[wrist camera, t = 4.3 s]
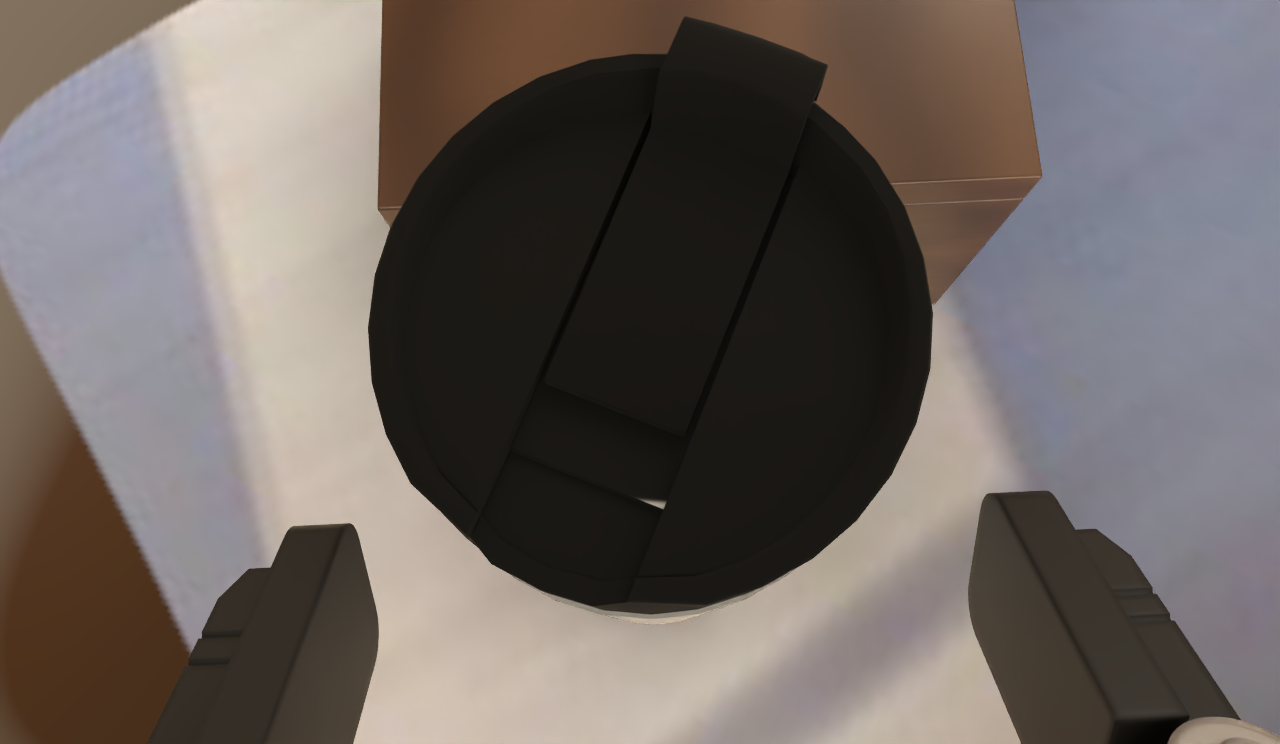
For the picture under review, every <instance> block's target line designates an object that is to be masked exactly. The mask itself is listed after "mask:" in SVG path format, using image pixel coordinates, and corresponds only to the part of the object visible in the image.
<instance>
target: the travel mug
mask: <svg viewBox="0 0 1280 744" xmlns="http://www.w3.org/2000/svg"><path fill="white" fill-rule="evenodd" d="M827 67H828V65H827V64H825V63H822V62H820V61H817V60H815V59H812V58H810V57H808V56H806V55H804V54H803V53H800V52H797V51H795V50H792V49H789V48H787V47H784V46H781V45H779V44H776V43H773V42H771V41H768V40H765V39H763V38H760V37H757V36H754V35H750V34H747V33H744V32H741V31H738V30H734V29H731V28H728V27H725V26H721V25H718V24H715V23H711V22H707V21H703V20H699V19H695V18H691V17H687V16H685V17H684V18H683V20H682V22H681V24H680V26H679V29H678V31H677V33H676V35H675V38H674V40H673V42H672V44H671V47H670V49H669V51H668V53H667V54H627V55H620V56H613V57H606V58H599V59H591V60H588V61H585V62H582V63H579V64H576V65H573V66H570V67H567V68H564V69H561V70H558V71H555V72H552V73H549V74H546V75H543V76H540V77H538V78H536V79H534V80H532V81H531V82H529V83H527V84H525V85H523V86H522V87H520V88H518V89H516V90H514V91H513V92H511V93H509V94H507V95H505V96H504V97H502V98H500V99H498V100H496V101H495V102H493V103H492V104H491V105H489V106H488V107H487V108H486V109H484V110H483V111H482V112H481V113H480V114H478V115H477V116H476V117H475V118H474V119H472V120H471V121H470V122H469V123H468V124H466V125H465V126H464V127H463V128H462V129H460V130H459V131H458V132H457V133H455V134H454V135H453V136H452V137H451V138H450V139H449V140H448V142H447V143H446V144H445V145H444V146H443V148H442V149H441V150H440V151H439V152H438V154H437V155H436V156H435V157H434V158H433V160H432V161H431V162H430V163H429V164H428V166H427V167H426V168H425V169H424V170H423V172H422V173H421V174H420V175H419V176H418V178H417V179H416V181H415V183H414V185H413V187H412V188H411V190H410V192H409V194H408V196H407V197H406V199H405V201H404V203H403V205H402V206H401V208H400V210H399V212H398V214H397V215H396V217H395V219H394V221H393V223H392V225H391V228H390V231H389V234H388V237H387V240H386V243H385V246H384V249H383V252H382V255H381V258H380V261H379V264H378V267H377V270H376V273H375V278H374V286H373V294H372V302H371V309H370V317H369V325H368V334H369V349H370V363H371V378H372V385H373V388H374V392H375V396H376V399H377V403H378V407H379V410H380V414H381V418H382V421H383V425H384V429H385V432H386V435H387V437H388V439H389V441H390V443H391V445H392V447H393V449H394V451H395V453H396V455H397V457H398V459H399V461H400V463H401V465H402V467H403V469H404V471H405V473H406V475H407V477H408V479H409V481H410V483H411V484H412V485H413V486H414V487H415V488H416V489H417V490H418V491H419V492H420V493H421V494H422V495H424V496H425V497H426V498H427V499H428V500H429V501H430V502H431V503H432V504H433V505H434V506H435V507H436V508H437V509H438V510H440V511H441V512H442V513H443V514H444V516H445V517H446V518H447V519H448V520H449V521H450V522H451V523H452V524H453V525H454V526H455V527H456V528H457V529H458V530H459V531H460V532H461V533H462V534H463V535H464V536H465V537H466V538H467V539H468V540H470V541H471V542H472V543H473V544H474V545H476V546H477V547H478V548H479V549H480V550H481V552H482V553H483V554H484V555H485V557H486V558H487V559H488V561H489V562H490V563H491V564H493V565H494V566H496V567H498V568H500V569H502V570H504V571H505V572H507V573H509V574H511V575H512V576H513V577H514V578H516V579H518V580H519V581H521V582H523V583H525V584H527V585H529V586H530V587H532V588H534V589H536V590H538V591H540V592H542V593H543V594H545V595H547V596H549V597H551V598H553V599H554V600H556V601H559V602H562V603H566V604H569V605H572V606H575V607H579V608H582V609H585V610H589V611H592V612H595V613H599V614H602V615H606V616H610V617H614V618H617V619H621V620H625V621H629V622H633V623H642V624H653V625H659V624H668V623H677V622H680V621H683V620H686V619H689V618H692V617H696V616H699V615H701V614H704V613H707V612H710V611H713V610H716V609H718V608H721V607H724V606H727V605H730V604H733V603H736V602H738V601H741V600H744V599H746V598H748V597H750V596H752V595H753V594H755V593H757V592H759V591H760V590H762V589H764V588H766V587H767V586H769V585H771V584H773V583H774V582H776V581H778V580H780V579H781V578H783V577H785V576H787V575H788V574H789V573H790V572H791V571H792V570H794V569H795V568H797V567H799V566H801V565H802V564H804V563H806V562H808V561H809V560H811V559H813V558H814V557H815V556H816V555H817V554H819V553H820V552H821V551H822V550H823V549H824V548H826V547H827V546H828V545H829V544H830V543H831V542H832V541H834V540H835V539H836V538H837V537H838V536H839V535H840V534H842V533H843V532H844V531H845V530H846V529H847V528H849V527H850V526H851V525H852V524H853V523H854V522H855V521H857V519H858V518H859V517H860V515H861V514H862V513H863V511H864V510H865V509H866V507H867V506H868V505H869V504H870V502H871V501H872V500H873V498H874V497H875V496H876V494H877V493H878V492H879V490H880V489H881V488H882V487H883V485H884V484H885V483H886V481H887V480H888V479H889V477H890V476H891V475H892V473H893V471H894V469H895V466H896V464H897V462H898V460H899V458H900V456H901V454H902V452H903V450H904V448H905V446H906V444H907V442H908V440H909V438H910V436H911V433H912V431H913V429H914V427H915V425H916V423H917V419H918V415H919V411H920V407H921V403H922V399H923V395H924V391H925V387H926V383H927V379H928V376H929V372H930V363H931V342H932V320H933V311H932V304H931V298H930V292H929V285H928V279H927V272H926V266H925V260H924V256H923V254H922V251H921V248H920V245H919V243H918V240H917V237H916V235H915V232H914V229H913V227H912V224H911V221H910V219H909V216H908V213H907V211H906V208H905V206H904V204H903V203H902V201H901V199H900V198H899V196H898V195H897V193H896V191H895V190H894V188H893V187H892V185H891V183H890V182H889V180H888V179H887V177H886V175H885V174H884V172H883V171H882V169H881V167H880V166H879V164H878V163H877V161H876V160H875V159H874V158H873V157H872V155H871V154H870V153H869V152H868V151H867V150H866V149H865V148H864V147H863V146H862V145H861V144H860V143H859V142H858V141H857V139H856V138H855V137H854V136H853V135H852V134H851V133H850V132H849V131H848V130H847V129H846V128H845V127H844V126H843V125H842V124H840V123H839V122H838V121H837V120H835V119H834V118H833V117H832V116H831V115H829V114H828V113H827V112H826V111H825V110H823V109H822V108H821V107H820V106H819V105H818V104H816V103H815V102H814V101H817V98H818V96H819V93H820V91H821V88H822V84H823V81H824V77H825V74H826V71H827Z"/></svg>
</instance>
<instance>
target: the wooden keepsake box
mask: <svg viewBox="0 0 1280 744" xmlns="http://www.w3.org/2000/svg"><path fill="white" fill-rule="evenodd" d="M685 16H687V17H691V18H695V19H699V20H703V21H707V22H711V23H715V24H718V25H721V26H725V27H728V28H731V29H734V30H738V31H741V32H744V33H747V34H750V35H754V36H757V37H760V38H763V39H765V40H768V41H771V42H773V43H776V44H779V45H781V46H784V47H787V48H789V49H792V50H795V51H797V52H800V53H803V54H804V55H806V56H808V57H810V58H812V59H815V60H817V61H820V62H822V63H825V64H827V65H828V67H827V71H826V74H825V77H824V81H823V84H822V88H821V91H820V93H819V96H818V98H817V101H814V102H815V103H816V104H818V105H819V106H820V107H821V108H822V109H823V110H825V111H826V112H827V113H828V114H829V115H831V116H832V117H833V118H834V119H835V120H837V121H838V122H839V123H840V124H842V125H843V126H844V127H845V128H846V129H847V130H848V131H849V132H850V133H851V134H852V135H853V136H854V137H855V138H856V139H857V141H858V142H859V143H860V144H861V145H862V146H863V147H864V148H865V149H866V150H867V151H868V152H869V153H870V154H871V155H872V157H873V158H874V159H875V160H876V161H877V163H878V164H879V166H880V167H881V169H882V171H883V172H884V174H885V175H886V177H887V179H888V180H889V182H890V183H891V185H892V187H893V188H894V190H895V191H896V193H897V195H898V196H899V198H900V199H901V201H902V203H903V204H904V206H905V208H906V211H907V213H908V216H909V219H910V221H911V224H912V227H913V229H914V232H915V235H916V237H917V240H918V243H919V245H920V248H921V251H922V254H923V256H924V260H925V266H926V272H927V279H928V285H929V292H930V298H931V304H933V303H936V302H937V301H938V299H939V298H940V297H941V296H942V295H943V294H944V292H945V291H946V290H947V289H948V288H949V286H950V285H951V284H952V283H953V282H954V281H955V279H956V278H957V277H958V276H959V275H960V273H961V272H962V271H963V270H964V269H965V268H966V266H967V265H968V264H969V263H970V262H971V260H972V259H973V258H974V257H975V256H976V254H977V253H978V252H979V251H980V250H981V249H982V247H983V246H984V245H985V244H986V243H987V241H988V240H989V239H990V238H991V237H992V236H993V234H994V233H995V232H996V231H997V230H998V228H999V227H1000V226H1001V225H1002V224H1003V223H1004V221H1005V220H1006V219H1007V218H1008V217H1009V215H1010V214H1011V213H1012V212H1013V211H1014V209H1015V208H1016V207H1017V206H1018V205H1019V204H1020V202H1021V201H1022V200H1023V198H1024V197H1025V196H1026V195H1027V194H1028V193H1029V192H1030V190H1031V189H1032V188H1033V187H1034V186H1035V185H1036V183H1037V182H1038V181H1039V180H1040V179H1041V177H1042V171H1041V165H1040V158H1039V152H1038V146H1037V140H1036V133H1035V127H1034V121H1033V115H1032V108H1031V102H1030V96H1029V90H1028V83H1027V77H1026V71H1025V65H1024V58H1023V52H1022V46H1021V40H1020V33H1019V27H1018V21H1017V15H1016V8H1015V2H1014V0H382V38H381V82H380V125H379V169H378V210H379V212H380V213H381V215H382V216H383V218H384V219H385V221H386V222H387V224H388V225H389V227H390V228H391V225H392V223H393V221H394V219H395V217H396V215H397V214H398V212H399V210H400V208H401V206H402V205H403V203H404V201H405V199H406V197H407V196H408V194H409V192H410V190H411V188H412V187H413V185H414V183H415V181H416V179H417V178H418V176H419V175H420V174H421V173H422V172H423V170H424V169H425V168H426V167H427V166H428V164H429V163H430V162H431V161H432V160H433V158H434V157H435V156H436V155H437V154H438V152H439V151H440V150H441V149H442V148H443V146H444V145H445V144H446V143H447V142H448V140H449V139H450V138H451V137H452V136H453V135H454V134H455V133H457V132H458V131H459V130H460V129H462V128H463V127H464V126H465V125H466V124H468V123H469V122H470V121H471V120H472V119H474V118H475V117H476V116H477V115H478V114H480V113H481V112H482V111H483V110H484V109H486V108H487V107H488V106H489V105H491V104H492V103H493V102H495V101H496V100H498V99H500V98H502V97H504V96H505V95H507V94H509V93H511V92H513V91H514V90H516V89H518V88H520V87H522V86H523V85H525V84H527V83H529V82H531V81H532V80H534V79H536V78H538V77H540V76H543V75H546V74H549V73H552V72H555V71H558V70H561V69H564V68H567V67H570V66H573V65H576V64H579V63H582V62H585V61H588V60H591V59H599V58H606V57H613V56H620V55H627V54H667V53H668V51H669V49H670V47H671V44H672V42H673V40H674V38H675V35H676V33H677V31H678V29H679V26H680V24H681V22H682V20H683V18H684V17H685Z"/></svg>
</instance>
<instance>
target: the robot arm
mask: <svg viewBox="0 0 1280 744" xmlns="http://www.w3.org/2000/svg"><path fill="white" fill-rule="evenodd" d="M968 600H969V610H970V616H971V621H972V625H973V629H974V632H975V635H976V637H977V640H978V642H979V644H980V647H981V649H982V651H983V654H984V656H985V658H986V661H987V663H988V666H989V668H990V670H991V673H992V675H993V677H994V680H995V682H996V685H997V687H998V689H999V692H1000V694H1001V696H1002V699H1003V701H1004V703H1005V706H1006V708H1007V711H1008V713H1009V715H1010V718H1011V720H1012V722H1013V725H1014V727H1015V729H1016V732H1017V734H1018V737H1019V739H1020V741H1021V744H1280V737H1279V736H1277V735H1275V734H1274V733H1272V732H1270V731H1268V730H1266V729H1263V728H1261V727H1259V726H1257V725H1254V724H1251V723H1248V722H1245V721H1241V719H1240V718H1239V716H1238V715H1237V713H1236V712H1235V710H1234V709H1233V707H1232V706H1231V705H1230V703H1229V702H1228V700H1227V699H1226V697H1225V696H1224V694H1223V693H1222V691H1221V690H1220V688H1219V687H1218V685H1217V684H1216V682H1215V681H1214V679H1213V678H1212V676H1211V675H1210V673H1209V672H1208V670H1207V669H1206V667H1205V666H1204V664H1203V663H1202V661H1201V660H1200V658H1199V657H1198V655H1197V654H1196V652H1195V651H1194V649H1193V648H1192V646H1191V645H1190V643H1189V642H1188V640H1187V639H1186V637H1185V636H1184V634H1183V633H1182V631H1181V630H1180V628H1179V627H1178V625H1177V624H1176V622H1175V621H1171V619H1170V613H1169V612H1168V610H1167V609H1166V607H1165V606H1164V604H1163V603H1162V601H1161V600H1160V598H1159V597H1158V595H1157V594H1153V591H1152V586H1151V585H1150V583H1149V582H1148V580H1147V579H1146V577H1145V576H1144V574H1143V573H1142V571H1141V570H1140V568H1139V567H1138V565H1137V564H1136V562H1135V561H1134V559H1133V558H1132V556H1131V555H1129V554H1128V553H1127V552H1126V551H1124V550H1123V549H1122V548H1120V547H1119V546H1118V545H1116V544H1115V543H1114V542H1112V541H1111V540H1110V539H1109V538H1107V537H1106V536H1105V535H1103V534H1102V533H1101V532H1099V531H1098V530H1097V529H1083V530H1075V528H1074V527H1073V525H1072V524H1071V522H1070V520H1069V519H1068V517H1067V515H1066V514H1065V512H1064V511H1063V509H1062V507H1061V506H1060V504H1059V503H1058V501H1057V499H1056V498H1055V496H1054V495H1053V494H1052V493H1051V492H1049V491H1028V492H1008V493H989V494H987V495H986V496H985V497H984V499H983V502H982V505H981V510H980V516H979V522H978V529H977V535H976V541H975V547H974V554H973V560H972V566H971V572H970V579H969V587H968ZM378 638H379V629H378V616H377V611H376V606H375V602H374V598H373V594H372V590H371V586H370V582H369V578H368V573H367V569H366V565H365V561H364V557H363V553H362V549H361V545H360V541H359V537H358V533H357V531H356V529H355V527H354V526H353V525H352V524H350V523H348V524H328V525H308V526H293V527H291V528H290V529H289V530H288V531H287V533H286V535H285V537H284V539H283V541H282V544H281V546H280V548H279V550H278V553H277V555H276V557H275V559H274V562H273V564H272V566H271V568H256V569H248V570H247V571H246V572H245V573H244V574H243V575H242V576H241V577H240V578H239V579H238V580H237V581H236V582H235V583H234V584H233V585H232V586H231V587H230V588H229V589H228V590H227V591H226V592H225V593H224V594H223V595H222V596H220V597H219V598H218V600H217V602H216V604H215V606H214V608H213V610H212V612H211V614H210V617H209V619H208V621H207V623H206V625H205V627H204V629H203V631H202V639H198V641H197V643H196V645H195V647H194V649H193V651H192V653H191V655H190V657H189V665H188V666H186V667H185V668H184V670H183V672H182V674H181V676H180V678H179V680H178V682H177V684H176V686H175V688H174V690H173V692H172V695H171V696H170V698H169V700H168V702H167V704H166V706H165V709H164V710H163V712H162V714H161V716H160V719H159V721H158V723H157V725H156V727H155V729H154V731H153V733H152V735H151V737H150V739H149V741H148V743H147V744H353V742H354V738H355V735H356V731H357V727H358V724H359V720H360V717H361V713H362V709H363V706H364V702H365V698H366V695H367V691H368V688H369V684H370V680H371V677H372V673H373V669H374V666H375V662H376V657H377V651H378Z"/></svg>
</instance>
